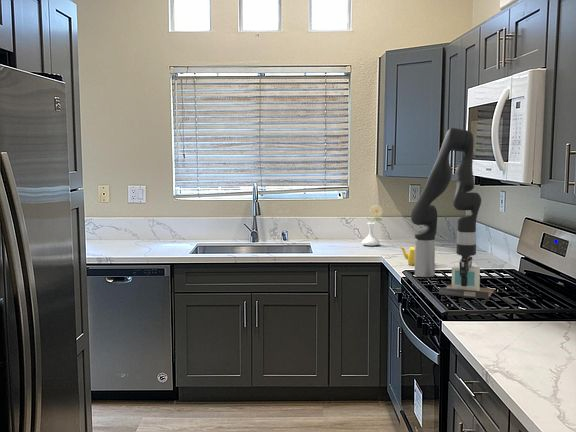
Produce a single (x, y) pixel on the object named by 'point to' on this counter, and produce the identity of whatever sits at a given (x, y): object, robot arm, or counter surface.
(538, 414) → the counter surface
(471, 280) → the carton
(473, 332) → the counter surface
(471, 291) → the shelf plank
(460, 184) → the robot arm
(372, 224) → the flower in vase
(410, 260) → the teapot
